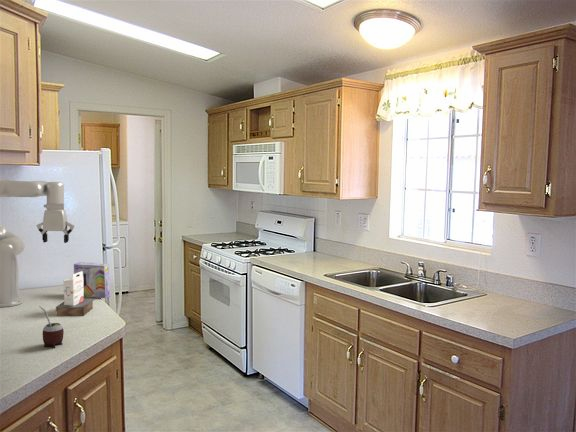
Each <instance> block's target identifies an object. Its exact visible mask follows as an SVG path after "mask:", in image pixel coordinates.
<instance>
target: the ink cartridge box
mask: <svg viewBox="0 0 576 432" xmlns="http://www.w3.org/2000/svg"><path fill="white" fill-rule="evenodd" d="M77 275H80V276H78V277H76V276H77ZM84 300H85V297H84V284H83V271H81V272H78V273H75V274H74V273H73V274H72V277H70V278H67V279H64V280H63V302H64V305H67V306H75V305H77V304H79V303H81V302H83V301H84Z"/></svg>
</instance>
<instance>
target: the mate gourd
mask: <svg viewBox="0 0 576 432" xmlns="http://www.w3.org/2000/svg"><path fill="white" fill-rule="evenodd" d="M38 307H39V308H40V309H41V311H43V313H44V314H45V316H46V320H47V322H48V323H47V324H46V325H45V326H44V327H43V329H42V341H43V344H44V345H43V347H44V348H51V347H52V349H56V346H61V345H63V343H64V342H63V340H64V334H65V332H64V327H63V325H62V324H61V323H59V322H53V323H52V322H51V320H50V318H49V315H48V311H47V310H46V309H45V308H44V307H42V306H41V305H38Z"/></svg>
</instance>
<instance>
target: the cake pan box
mask: <svg viewBox="0 0 576 432" xmlns="http://www.w3.org/2000/svg"><path fill="white" fill-rule="evenodd" d="M81 271H83V284H84V298H98V299H107V298H109V297H110V296H111V285H110V284H111V283H110V265H109V263H97V262H84V261H78V262H75V263H73V274H75V273H78V272H81ZM78 276H80V275H77V276H76V277H78Z"/></svg>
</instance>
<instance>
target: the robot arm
mask: <svg viewBox="0 0 576 432" xmlns="http://www.w3.org/2000/svg"><path fill="white" fill-rule="evenodd" d="M64 185H65V184H64V182H61V181H45V180H29V181H27V180H11V179H8V178H0V198H11V197H12V198H38V197H45V196H46V204H43V208H45V210H44V212H43V218H42V222H40V223H38V224H36V228H37V229H38V232H39V233H40V234H41V235H42V237H41V238H42V242H43V243H44V244H45V243H47V242H48V232H62V233H63V243H64V244H66V243H68V242H69V241H70V240H69V239H70V237H69V236H70V234H71V232H73V230H74V228H75V225H74V224H72V223H70V222H68V218H67V217H68V216H67V212H66V209H65V186H64ZM68 227H69V229H68ZM25 247H26V246H25V242H24V240H23V239H22V238H20V236H18V235H16V234H15V233H14V232H12V231H10V229H8V228H6V227H4V226H3V225H1V224H0V308H6V307H14V306H18V305H21V304H22V303H23V299H22V298H20V295H19V287H20V286H19V263H18V259H17V258H18V257H17V256H19V255H20V254H22V253H23V252H24V249H25Z"/></svg>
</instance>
